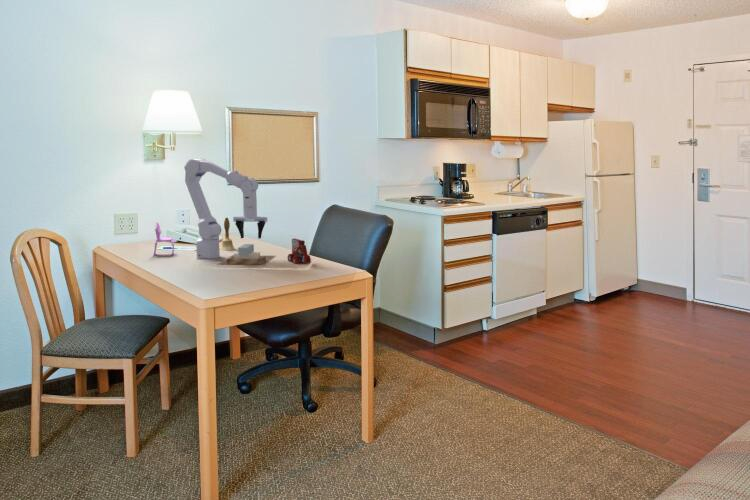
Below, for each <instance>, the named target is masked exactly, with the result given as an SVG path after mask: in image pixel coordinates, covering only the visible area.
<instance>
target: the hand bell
mask: <svg viewBox="0 0 750 500" xmlns="http://www.w3.org/2000/svg"><path fill="white" fill-rule="evenodd" d="M230 225H231V224H230V220H229V217H225V219H224V223H223V227H224V231H225V234H224V235H225V237H224V239H222V242H221V246H220V247H219V250H220V251H221V252H222V251H225V252H227V251H228V252H229V251H235V250H236V248H235V246H234V243H233V240H232V239H231V238H230V234H229V233H230V232H229V231H230Z"/></svg>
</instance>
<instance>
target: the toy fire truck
mask: <svg viewBox="0 0 750 500" xmlns="http://www.w3.org/2000/svg"><path fill="white" fill-rule="evenodd" d="M305 243H306V241H305V240H303V239H302V240H301V239H298V238H292V239H291V246H292V247H291V253H289V254H287V261H288V262H290V263H293V264H294V265H299V264H302V263H304V264H305V263H307V264H309V263H310V264H311V259H312V258H311V256H310V255H309V253H308V250H307V245H306V244H305Z"/></svg>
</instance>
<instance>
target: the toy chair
mask: <svg viewBox="0 0 750 500" xmlns="http://www.w3.org/2000/svg"><path fill="white" fill-rule="evenodd" d="M154 225H155V229H154V231H155V235H156V239H155V243H154V251H153V257H155V255H156V253H157V245H158V243H162V242H163V243H165V242H167V243H171V247H172V252H171V256H174V253H175V252H174V251H175V242H174V240H173V237H161V233H162V230H161V226H160V224H159V223H158V222H156V221H155V222H154Z"/></svg>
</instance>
